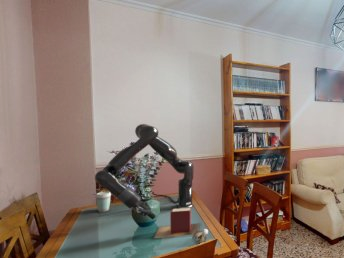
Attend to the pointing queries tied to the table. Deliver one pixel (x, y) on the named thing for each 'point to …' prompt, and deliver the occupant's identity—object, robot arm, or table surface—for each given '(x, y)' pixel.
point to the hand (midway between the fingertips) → (154, 217)
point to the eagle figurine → (200, 235)
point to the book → (180, 220)
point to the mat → (166, 233)
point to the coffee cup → (103, 201)
